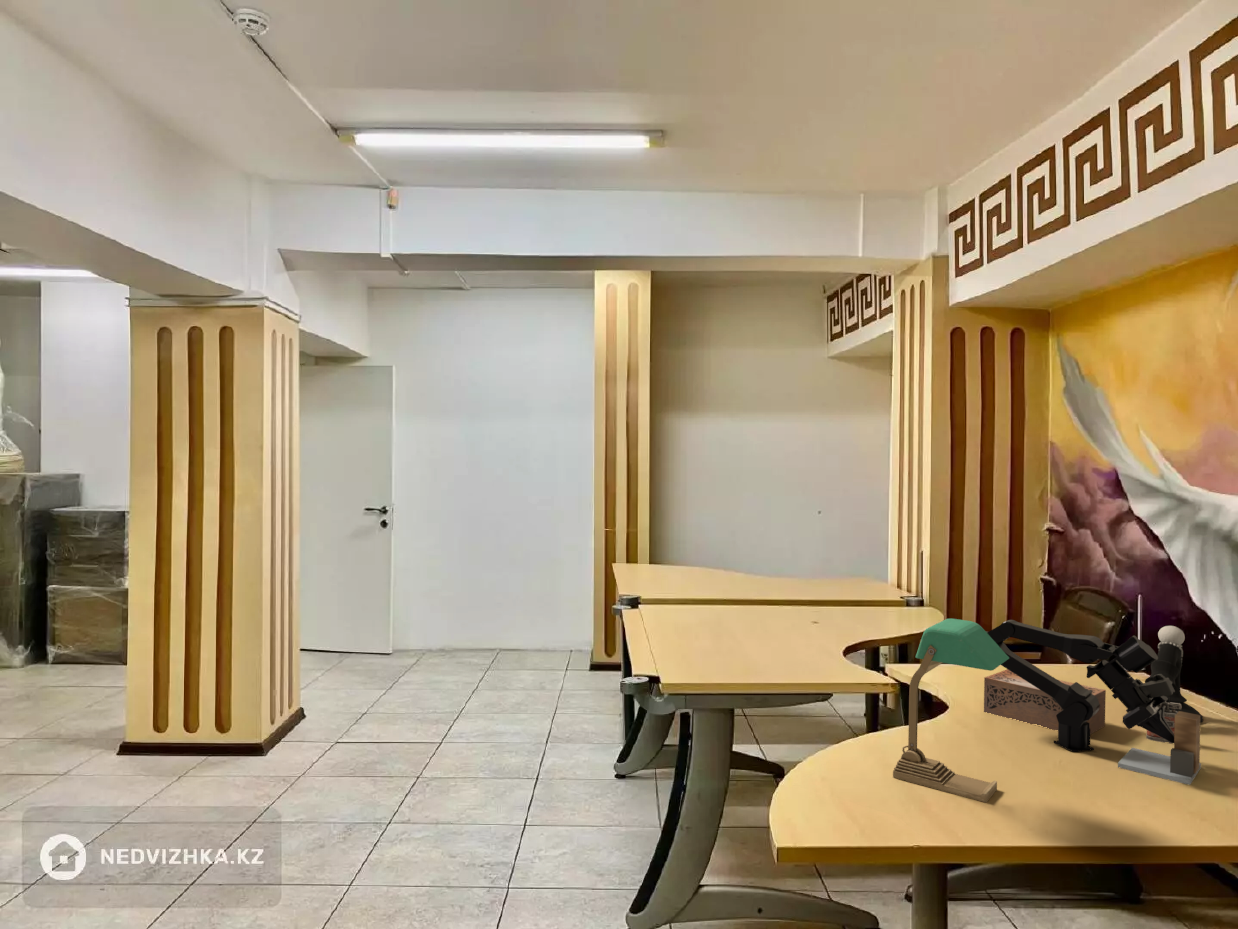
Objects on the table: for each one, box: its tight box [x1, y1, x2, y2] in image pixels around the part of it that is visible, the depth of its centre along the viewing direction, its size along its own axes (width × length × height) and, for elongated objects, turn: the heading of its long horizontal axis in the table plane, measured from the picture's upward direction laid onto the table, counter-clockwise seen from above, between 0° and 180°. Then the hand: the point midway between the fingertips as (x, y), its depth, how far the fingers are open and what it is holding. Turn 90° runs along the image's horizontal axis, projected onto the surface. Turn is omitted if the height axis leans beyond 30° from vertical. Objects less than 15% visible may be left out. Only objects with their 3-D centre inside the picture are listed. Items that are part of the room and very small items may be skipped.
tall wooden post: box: [1173, 711, 1201, 774], centre depth 180 cm, size 4×5×12 cm
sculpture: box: [1144, 625, 1204, 724], centre depth 218 cm, size 15×24×25 cm, turn 134°
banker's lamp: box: [892, 618, 1009, 803], centre depth 172 cm, size 16×21×35 cm
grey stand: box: [1117, 747, 1202, 786], centre depth 183 cm, size 14×14×6 cm
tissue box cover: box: [983, 669, 1107, 735], centre depth 217 cm, size 26×14×10 cm, turn 40°
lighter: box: [1145, 701, 1182, 744], centre depth 201 cm, size 8×3×10 cm, turn 62°
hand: (1175, 742), depth 181 cm, fingers closed, pressing on tall wooden post
